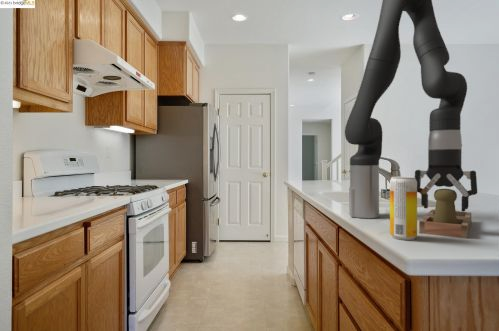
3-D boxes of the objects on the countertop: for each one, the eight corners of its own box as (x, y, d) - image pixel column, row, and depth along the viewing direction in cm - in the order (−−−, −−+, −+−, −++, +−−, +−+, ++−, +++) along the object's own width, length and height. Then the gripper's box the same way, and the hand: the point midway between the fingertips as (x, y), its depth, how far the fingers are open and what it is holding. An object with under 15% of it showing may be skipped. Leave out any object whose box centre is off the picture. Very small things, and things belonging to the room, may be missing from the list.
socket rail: (467, 238, 79) (467, 226, 79) (419, 232, 85) (419, 221, 85) (471, 222, 98) (471, 212, 98) (431, 218, 104) (431, 209, 104)
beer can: (418, 236, 81) (418, 176, 81) (415, 242, 76) (415, 178, 76) (392, 233, 85) (392, 176, 84) (387, 238, 80) (387, 177, 79)
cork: (463, 233, 83) (463, 190, 82) (437, 232, 84) (437, 190, 83) (452, 228, 89) (452, 187, 88) (428, 227, 90) (428, 187, 89)
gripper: (412, 148, 87) (411, 209, 87) (477, 147, 78) (476, 214, 79) (417, 149, 93) (416, 205, 93) (478, 147, 84) (477, 209, 85)
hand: (444, 209), depth 86 cm, fingers open, 8 cm apart
